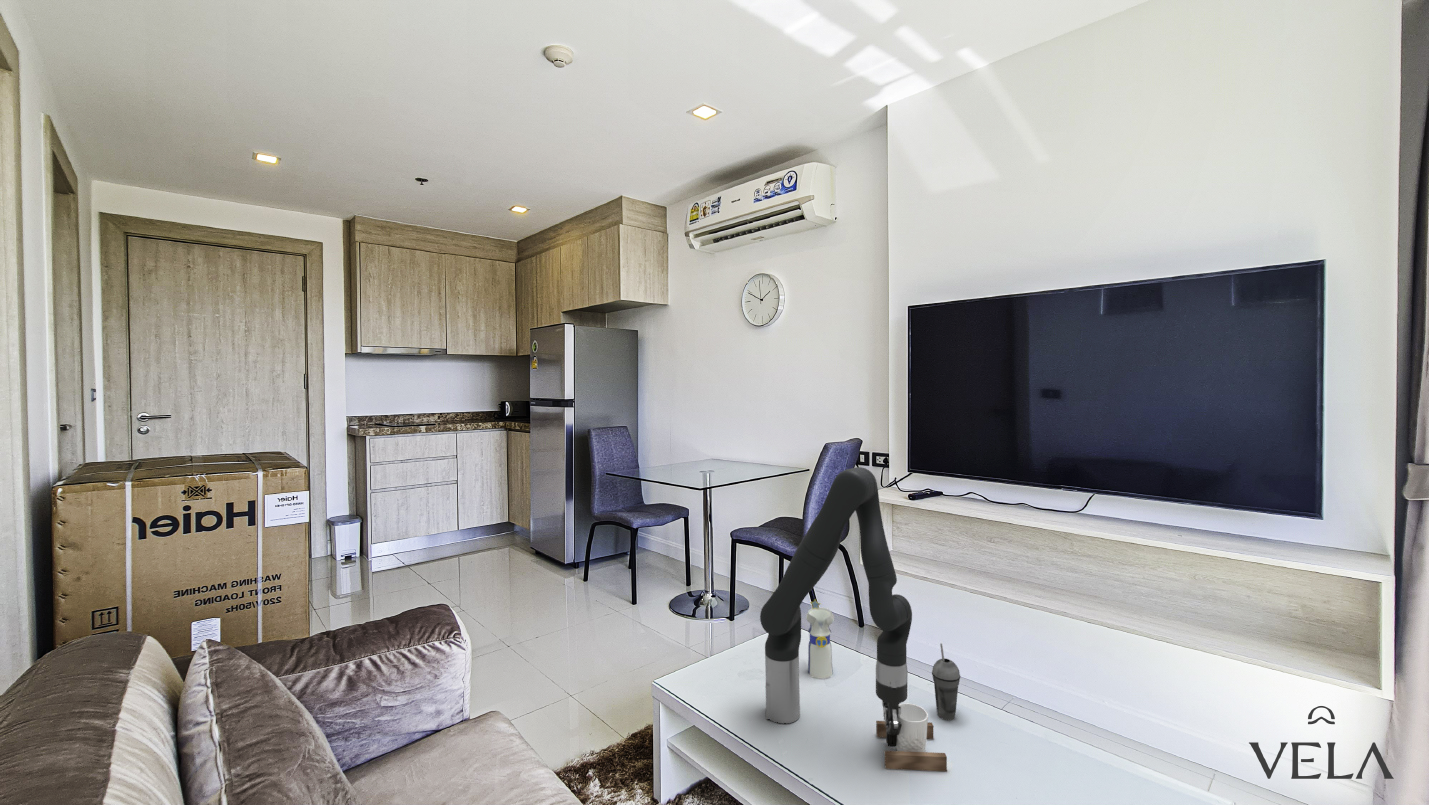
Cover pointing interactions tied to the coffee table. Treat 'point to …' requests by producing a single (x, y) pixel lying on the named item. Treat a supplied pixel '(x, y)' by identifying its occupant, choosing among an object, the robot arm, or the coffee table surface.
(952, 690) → the beverage cup
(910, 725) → the white cup
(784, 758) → the coffee table surface
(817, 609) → the white and blue figurine
